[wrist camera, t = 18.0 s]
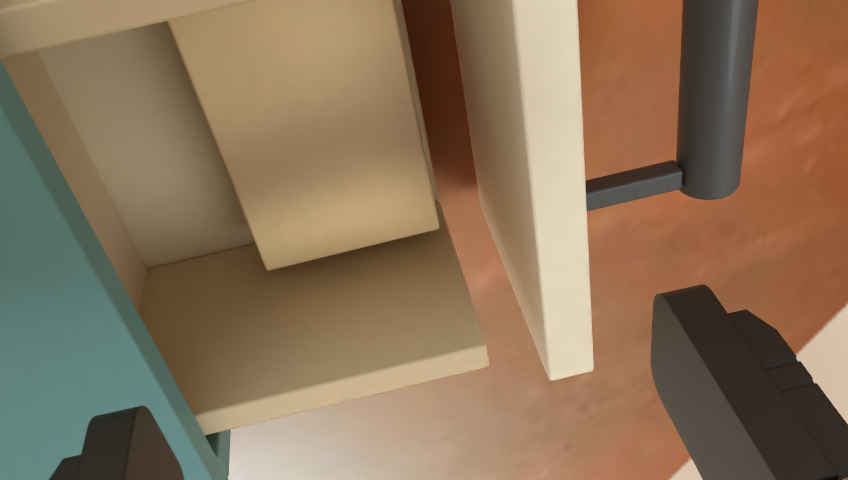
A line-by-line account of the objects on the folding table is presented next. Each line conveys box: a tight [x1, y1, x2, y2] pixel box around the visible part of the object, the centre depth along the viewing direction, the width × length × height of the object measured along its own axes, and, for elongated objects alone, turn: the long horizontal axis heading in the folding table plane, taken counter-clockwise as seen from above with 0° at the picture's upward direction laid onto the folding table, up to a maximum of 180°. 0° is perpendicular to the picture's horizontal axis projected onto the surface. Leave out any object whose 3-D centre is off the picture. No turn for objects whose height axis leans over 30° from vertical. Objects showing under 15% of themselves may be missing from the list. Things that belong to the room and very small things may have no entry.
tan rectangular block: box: [167, 0, 440, 270], centre depth 20 cm, size 8×5×2 cm, turn 10°
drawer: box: [0, 0, 759, 435], centre depth 19 cm, size 18×13×8 cm
